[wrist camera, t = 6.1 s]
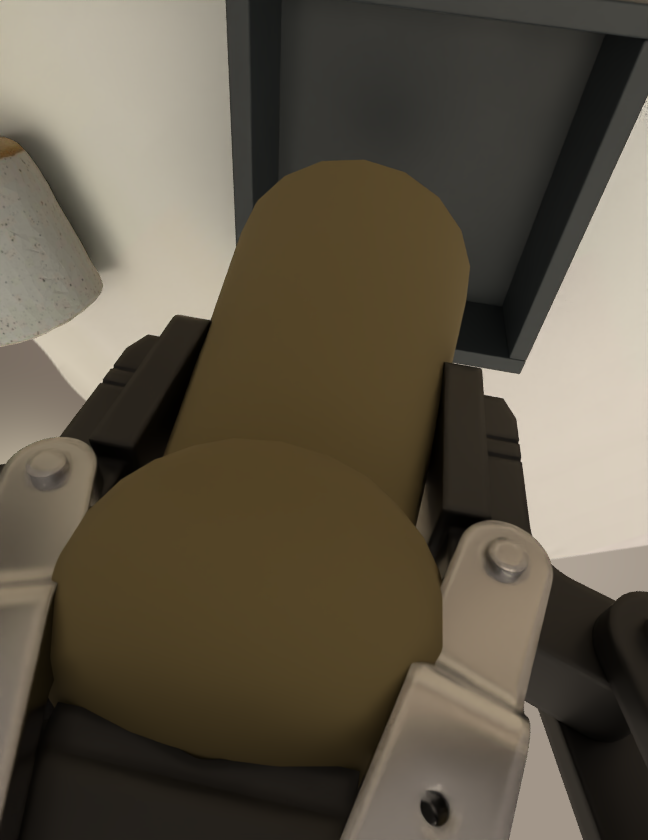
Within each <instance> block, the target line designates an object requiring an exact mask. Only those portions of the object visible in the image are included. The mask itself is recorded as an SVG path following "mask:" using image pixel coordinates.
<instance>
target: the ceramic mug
mask: <svg viewBox="0 0 648 840" xmlns="http://www.w3.org/2000/svg"><path fill="white" fill-rule="evenodd" d="M102 287H103V283H102V280H101V277H100V275H99V273H98V272H97V270H96V269H95V267H94V265H93V264H92V262H91V260H90V259H89V257H88V255H87V253H86V251H85V249H84V247H83V245H82V244H81V242H80V240H79V238H78V237H77V235H76V233H75V232H74V230H73V228H72V226H71V225H70V223H69V221H68V220H67V218H66V216H65V215H64V213H63V211H62V209H61V208H60V206H59V204H58V202H57V201H56V199H55V197H54V195H53V193H52V191H51V189H50V187H49V185H48V183H47V182H46V180H45V178H44V177H43V175H42V173H41V172H40V170H39V168H38V167H37V165H36V164H35V163H34V161H33V160H32V159H31V157H30V156H29V155H28V153H27V152H26V151H25V150H24V149H23V148H22V147H21V146H20V145H19V144H18V143H17V142H15V141H13V140H11V139H8V138H5V137H0V347H3V346H7V345H12V344H17V343H21V342H24V341H28V340H31V339H34V338H36V337H39V336H41V335H43V334H46V333H47V332H49V331H51V330H52V329H54V328H57V327H59V326H61V325H63V324H65V323H67V322H69V321H70V320H72V319H73V318H74V317H76V316H77V315H78V314H80V313H81V312H83V311H84V310H85V309H86V308H87V307H88V306H90V305H91V304H92V303H93V302H94V301H95V300H96V299H97V297H98V296H99V295H100V293H101V291H102Z"/></svg>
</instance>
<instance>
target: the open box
mask: <svg viewBox="0 0 648 840" xmlns="http://www.w3.org/2000/svg"><path fill="white" fill-rule="evenodd" d="M226 20H227V43H228V66H229V90H230V113H231V136H232V159H233V183H234V206H235V229H236V246H237V243H238V240H239V238H240V235H241V232H242V230H243V228H244V226H245V224H246V222H247V220H248V218H249V216H250V214H251V212H252V210H253V208H254V206H255V204H256V202H257V201H258V200H259V199H260V198H261V197H262V196H263V195H264V194H265V193H267V192H268V191H269V190H270V189H271V188H272V187H273V186H274V185H275V184H276V183H278V182H279V181H280V180H281V179H282V178H283V177H284V176H286V175H288V174H291V173H293V172H296V171H298V170H301V169H303V168H306V167H308V166H311V165H313V164H316V163H318V162H321V161H338V160H367V161H370V162H373V163H377V164H380V165H383V166H386V167H389V168H393V169H396V170H399V171H402V172H405V173H407V174H408V175H409V176H411V177H412V178H413V179H415V180H416V181H417V182H419V183H420V184H422V185H423V186H424V187H426V188H427V189H428V190H430V191H431V192H432V193H434V194H435V195H436V196H438V197H439V198H440V200H441V201H442V203H443V204H444V206H445V207H446V209H447V210H448V212H449V213H450V214H451V216H452V217H453V219H454V220H455V222H456V223H457V225H458V226H459V228H460V229H461V231H462V235H463V240H464V244H465V248H466V252H467V256H468V260H469V264H470V272H469V280H468V289H467V297H466V304H465V308H464V313H463V317H462V322H461V326H460V331H459V335H458V340H457V344H456V349H455V353H454V358H453V362H452V363H458V364H464V365H469V366H475V367H481V368H487V369H493V370H499V371H504V372H510V373H516V374H520V373H521V371H522V368H523V366H524V364H525V362H526V361H525V360H527V357H528V355H529V353H530V351H531V349H532V347H533V344H534V342H535V340H536V338H537V336H538V333H539V331H540V329H541V327H542V325H543V323H544V320H545V318H546V316H547V314H548V312H549V309H550V307H551V305H552V303H553V301H554V299H555V296H556V294H557V292H558V290H559V288H560V286H561V283H562V281H563V279H564V277H565V275H566V272H567V270H568V268H569V266H570V264H571V262H572V259H573V257H574V255H575V253H576V251H577V249H578V246H579V244H580V242H581V240H582V238H583V235H584V233H585V231H586V229H587V227H588V225H589V222H590V220H591V218H592V216H593V214H594V211H595V209H596V207H597V205H598V203H599V201H600V198H601V196H602V194H603V192H604V190H605V188H606V185H607V183H608V181H609V179H610V177H611V174H612V172H613V170H614V168H615V166H616V164H617V161H618V159H619V157H620V155H621V153H622V151H623V148H624V146H625V144H626V142H627V140H628V137H629V135H630V133H631V131H632V129H633V127H634V124H635V122H636V120H637V118H638V116H639V114H640V111H641V109H642V107H643V105H644V103H645V100H646V98H647V96H648V0H226Z"/></svg>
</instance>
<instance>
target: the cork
mask: <svg viewBox="0 0 648 840" xmlns="http://www.w3.org/2000/svg"><path fill="white" fill-rule="evenodd" d="M469 272H470V264H469V260H468V256H467V252H466V248H465V244H464V240H463V235H462V231H461V229H460V228H459V226H458V225H457V223H456V222H455V220H454V219H453V217H452V216H451V214H450V213H449V212H448V210H447V209H446V207H445V206H444V204H443V203H442V201H441V200H440V198H439V197H438V196H436V195H435V194H434V193H432V192H431V191H430V190H428V189H427V188H426V187H424V186H423V185H422V184H420V183H419V182H417V181H416V180H415V179H413V178H412V177H411V176H409V175H408V174H407V173H405V172H402V171H399V170H396V169H393V168H389V167H386V166H383V165H380V164H377V163H373V162H370V161H367V160H338V161H321V162H318V163H316V164H313V165H311V166H308V167H306V168H303V169H301V170H298V171H296V172H293V173H291V174H288V175H286V176H284V177H283V178H282V179H281V180H280V181H279V182H278V183H276V184H275V185H274V186H273V187H272V188H271V189H270V190H269V191H268V192H267V193H265V194H264V195H263V196H262V197H261V198H260V199H259V200H258V201H257V202H256V204H255V206H254V208H253V210H252V212H251V214H250V216H249V218H248V220H247V222H246V224H245V226H244V228H243V230H242V232H241V235H240V238H239V240H238V243H237V246H236V249H235V252H234V255H233V258H232V260H231V263H230V266H229V269H228V272H227V275H226V278H225V280H224V283H223V286H222V289H221V292H220V295H219V298H218V301H217V303H216V306H215V309H214V312H213V315H212V318H211V321H212V323H211V325H210V328H209V330H208V333H207V335H206V338H205V341H204V343H203V346H202V348H201V351H200V353H199V356H198V359H197V361H196V364H195V366H194V369H193V372H192V375H191V378H190V381H189V384H188V386H187V389H186V392H185V395H184V398H183V401H182V404H181V406H180V409H179V412H178V415H177V418H176V421H175V424H174V427H173V429H172V432H171V435H170V438H169V441H168V444H167V447H166V449H165V452H164V455H163V457H161V458H158V459H155V460H153V461H151V462H150V463H148V464H146V465H145V466H143V467H141V468H140V469H138V470H136V471H135V472H133V473H131V474H129V475H128V476H126V477H124V478H123V479H121V480H120V481H119V482H118V483H117V484H116V485H115V486H114V487H113V488H112V489H110V490H109V491H108V492H107V493H106V494H105V495H104V496H103V497H102V498H101V499H100V500H99V501H98V502H97V503H96V504H95V505H93V506H92V507H91V508H90V509H89V510H88V511H87V513H86V514H85V516H84V517H83V519H82V520H81V522H80V523H79V525H78V527H77V528H76V530H75V531H74V533H73V534H72V536H71V538H70V539H69V541H68V542H67V544H66V545H65V547H64V548H63V550H62V552H61V553H60V555H59V558H58V560H57V562H56V564H55V568H54V571H53V574H52V578H51V580H54V581H56V582H57V583H58V586H57V590H56V595H55V599H54V612H53V626H52V640H51V654H50V659H51V665H52V671H53V677H54V682H53V684H52V687H51V690H50V693H49V696H48V698H49V700H50V701H51V703H52V704H53V706H54V708H55V706H56V704H57V702H62V703H66V704H70V705H75V706H79V707H83V708H85V709H87V710H89V711H91V712H93V713H95V714H97V715H99V716H101V717H103V718H104V719H106V720H108V721H110V722H112V723H114V724H116V725H118V726H120V727H122V728H124V729H125V730H127V731H129V732H132V733H135V734H138V735H141V736H143V737H146V738H149V739H152V740H155V741H157V742H160V743H163V744H166V745H169V746H172V747H176V748H179V749H181V750H183V751H184V752H186V753H188V754H189V755H191V756H193V757H195V758H198V759H207V760H208V759H226V760H231V761H238V762H246V763H253V764H261V765H269V766H279V767H283V766H340V767H344V768H348V769H353V770H357V771H360V775H359V784H358V788H359V785H360V783H361V780H362V778H363V775H364V773H365V770H366V768H367V765H368V763H369V760H370V758H371V755H372V753H373V751H374V749H375V746H376V744H377V742H378V740H379V738H380V736H381V734H382V731H383V729H384V727H385V724H386V722H387V720H388V717H389V715H390V713H391V710H392V708H393V706H394V703H395V701H396V699H397V696H398V694H399V692H400V689H401V687H402V685H403V682H404V680H405V678H406V675H407V673H408V671H409V668H410V666H411V664H412V663H414V662H417V661H428V662H431V663H434V662H435V661H436V660H437V659H438V658H439V656H440V654H441V651H442V648H443V597H442V594H441V590H440V586H441V582H442V579H441V575H440V571H439V569H438V567H437V565H436V562H435V560H434V558H433V556H432V554H431V552H430V550H429V548H428V545H427V543H426V541H425V539H424V537H423V536H422V535H421V533H420V532H419V531H418V530H417V528H416V524H417V519H418V515H419V510H420V506H421V501H422V497H423V492H424V488H425V483H426V479H427V474H428V470H429V465H430V459H431V453H432V447H433V441H434V435H435V429H436V423H437V417H438V410H439V404H440V398H441V387H442V377H443V367H444V362H448V363H452V362H453V358H454V353H455V349H456V344H457V340H458V335H459V331H460V326H461V322H462V317H463V313H464V308H465V304H466V297H467V289H468V280H469Z"/></svg>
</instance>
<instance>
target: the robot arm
mask: <svg viewBox="0 0 648 840" xmlns="http://www.w3.org/2000/svg"><path fill="white" fill-rule="evenodd" d="M211 323H212V321H211V320H206V319H200V318H194V317H189V316H183V315H175V316H174V317H173V318H172V319H171V321H170V322H169V324H168V325H167V327H166V328H165V330H164V331H163V332H162V334H161V335H160V337H159V336H153V335H146V336H145V337H143V338H142V339H140V340H138V341H137V342H135V343H134V344H132V345H131V346H129V347H127V348H126V350H125V351H124V352H123V353H122V355H121V356H120V357H119V359H118V360H117V361H116V363H115V364H114V368H113V369H110V371H109V372H108V373H107V375H106V376H105V377H104V379H103V383H100V384H99V385H98V387H97V388H96V389H95V391H94V392H93V393H92V395H91V396H90V397H89V399H88V400H87V401H86V402H85V404H84V405H83V407H82V408H81V409H80V410H79V412H78V413H77V414H76V416H75V417H74V418H73V420H72V421H71V422H70V424H69V425H68V426H67V428H66V429H65V430H64V432H63V433H62V435H61V436H60V437H54V438H48V439H43V440H40V441H37V442H34V443H32V444H30V445H28V446H26V447H24V448H22V449H21V450H19V451H18V452H17V453H15V454H14V455H13V456H12V457H11V458H10V459H9V460H8V462H7V463H6V464H1V465H0V840H509V837H510V832H511V827H512V823H513V818H514V813H515V808H516V804H517V800H518V795H519V791H520V786H521V781H522V777H523V772H524V767H525V763H526V758H527V753H528V748H529V741H530V722H529V719H528V717H527V716H526V715H525V714H524V701H526V702H528V703H530V704H531V705H533V706H535V707H536V708H538V710H539V713H540V716H541V719H542V722H543V725H544V727H545V730H546V733H547V736H548V739H549V742H550V745H551V748H552V751H553V753H554V756H555V759H556V762H557V765H558V768H559V771H560V774H561V777H562V780H563V783H564V785H565V788H566V791H567V794H568V797H569V800H570V803H571V805H572V809H573V811H574V814H575V817H576V820H577V823H578V826H579V829H580V832H581V835H582V838H583V840H648V592H641V591H639V592H638V591H636V592H629V593H627V594H624V595H622V596H621V597H620V598H618V599H617V600H616V601H615V600H613V599H611V598H609V597H607V596H605V595H602V594H601V593H599V592H597V591H595V590H593V589H590V588H588V587H586V586H585V585H583V584H581V583H578V582H576V581H574V580H572V579H571V578H569V577H567V576H566V575H564V574H563V573H562V572H560V571H559V570H557V569H556V568H555V567H554V566H553V565H552V564H551V561H550V559H549V557H548V555H547V553H546V551H545V550H544V548H543V547H542V546H541V545H540V543H539V542H538V541H537V540H536V539H535V538H534V537H533V536H532V534H531V529H530V523H529V515H528V507H527V499H526V491H525V484H524V476H523V468H522V462H520V460H521V452H520V444H518V441H519V437H518V429H517V421H516V418H515V416H514V415H513V413H512V412H511V410H510V408H509V407H508V405H507V404H506V402H505V401H504V399H503V398H498V397H492V396H486V395H484V391H483V376H482V369H481V368H477V367H471V366H465V365H460V364H454V363H448V362H444V367H443V377H442V387H441V398H440V404H439V410H438V417H437V423H436V429H435V435H434V441H433V447H432V453H431V459H430V465H429V470H428V474H427V479H426V483H425V488H424V492H423V497H422V501H421V506H420V510H419V515H418V519H417V524H416V528H417V530H418V531H419V532H420V533H421V535H422V536H423V537H424V539H425V541H426V543H427V545H428V548H429V550H430V552H431V554H432V556H433V558H434V560H435V562H436V565H437V567H438V569H439V571H440V575H441V579H442V582H441V586H440V590H441V594H442V597H443V648H442V651H441V654H440V656H439V658H438V659H437V660H436V661H435V662H434V663H431V662H428V661H417V662H414V663H412V664H411V666H410V668H409V671H408V673H407V675H406V678H405V680H404V682H403V685H402V687H401V689H400V692H399V694H398V696H397V699H396V701H395V703H394V706H393V708H392V710H391V713H390V715H389V717H388V720H387V722H386V724H385V727H384V729H383V731H382V734H381V736H380V738H379V740H378V742H377V744H376V746H375V749H374V751H373V753H372V755H371V758H370V760H369V763H368V765H367V768H366V770H365V773H364V775H363V778H362V780H361V783H360V785H359V788H358V784H359V775H360V771H357V770H353V769H348V768H344V767H340V766H283V767H279V766H269V765H261V764H253V763H246V762H238V761H231V760H226V759H208V760H207V759H198V758H195V757H193V756H191V755H189V754H188V753H186V752H184V751H183V750H181V749H179V748H176V747H172V746H169V745H166V744H163V743H160V742H157V741H155V740H152V739H149V738H146V737H143V736H141V735H138V734H135V733H132V732H129V731H127V730H125V729H124V728H122V727H120V726H118V725H116V724H114V723H112V722H110V721H108V720H106V719H104V718H103V717H101V716H99V715H97V714H95V713H93V712H91V711H89V710H87V709H85V708H83V707H79V706H75V705H70V704H66V703H62V702H57V704H56V706H55V708H54V706H53V704H52V703H51V701H50V700H49V698H48V696H49V693H50V690H51V687H52V684H53V682H54V677H53V671H52V665H51V659H50V654H51V640H52V626H53V612H54V599H55V595H56V590H57V586H58V583H57V582H56V581H54V580H51V578H52V574H53V571H54V568H55V564H56V562H57V560H58V558H59V555H60V553H61V552H62V550H63V548H64V547H65V545H66V544H67V542H68V541H69V539H70V538H71V536H72V534H73V533H74V531H75V530H76V528H77V527H78V525H79V523H80V522H81V520H82V519H83V517H84V516H85V514H86V513H87V511H88V510H89V509H90V508H91V507H92V506H93V505H95V504H96V503H97V502H98V501H99V500H100V499H101V498H102V497H103V496H104V495H105V494H106V493H107V492H108V491H109V490H110V489H112V488H113V487H114V486H115V485H116V484H117V483H118V482H119V481H120V480H121V479H123V478H124V477H126V476H128V475H129V474H131V473H133V472H135V471H136V470H138V469H140V468H141V467H143V466H145V465H146V464H148V463H150V462H151V461H153V460H155V459H158V458H161V457H163V455H164V452H165V449H166V447H167V444H168V441H169V438H170V435H171V432H172V429H173V427H174V424H175V421H176V418H177V415H178V412H179V409H180V406H181V404H182V401H183V398H184V395H185V392H186V389H187V386H188V384H189V381H190V378H191V375H192V372H193V369H194V366H195V364H196V361H197V359H198V356H199V353H200V351H201V348H202V346H203V343H204V341H205V338H206V335H207V333H208V330H209V328H210V325H211Z"/></svg>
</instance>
